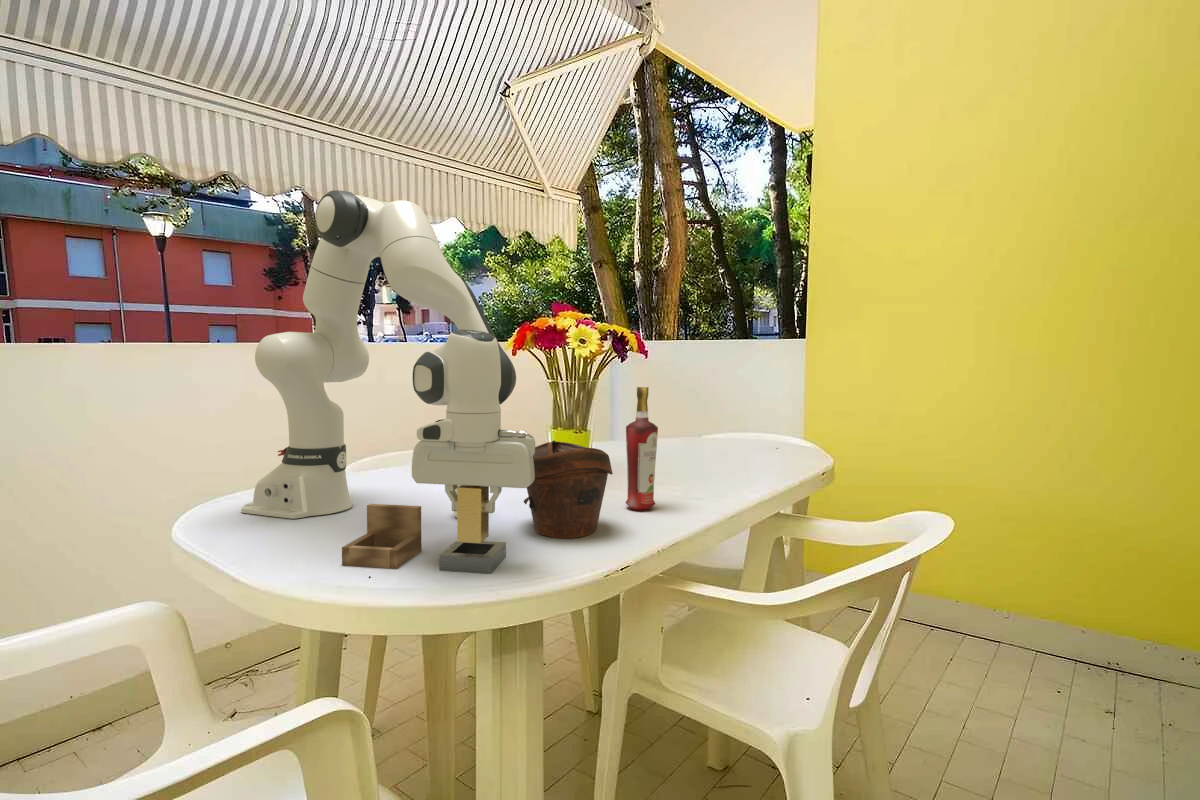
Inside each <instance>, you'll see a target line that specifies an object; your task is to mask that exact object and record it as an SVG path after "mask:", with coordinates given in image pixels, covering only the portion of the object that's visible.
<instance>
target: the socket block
mask: <svg viewBox="0 0 1200 800" xmlns="http://www.w3.org/2000/svg"><path fill="white" fill-rule="evenodd" d="M506 557H507V542H506V541H489V540H488V541H487V540H484V541H483V542H482V543H468V542H457V540H456V541H455V542H454V543H452V544H451V545H450V546H449V547H447V548H446V549H445V550H444V551H442V552H441V553H440V554H439V555H438V563H439V564H438V567H439V568H438V569H439V571H443V572H444V571H445V572H458V573H459V572H462V573H476V574H489V575H490V574H492V573H493V572H494V570H496V569H497V567H498V566H499V565H500V564H501V563H502V562H503V561H504V560H505V559H506Z"/></svg>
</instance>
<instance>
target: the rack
mask: <svg viewBox="0 0 1200 800" xmlns="http://www.w3.org/2000/svg"><path fill="white" fill-rule="evenodd" d="M420 552H422V506H421V505H408V504H406V505H404V504H387V503H386V504H384V503H383V504H382V503H368V504H367V505H366V533H365V534H363V535H362V536H359V537H358V538H355V540H353V541H351V542H349V543H347V544H345V545H343V546H342V547H341V566H349V567H363V568H379V569H381V568H382V569H395V570H396V569H398V568H400V567H402V566H403V565H404V564H406V563H407V562H408V561H409V560H411V559H412V558H414V557H415V556H416V555H418V554H419V553H420Z"/></svg>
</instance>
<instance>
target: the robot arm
mask: <svg viewBox="0 0 1200 800" xmlns="http://www.w3.org/2000/svg"><path fill="white" fill-rule="evenodd" d="M314 223H315V228H316V231H317V233H318V235H319V237H320V239H319V242H318V244H317V246H316V249H315V252H314V253H313V254H314V255H313V258H312V261H311V264H310V268H309V271H308V275H307V279H306V282H305V287H304V291H303V295H302V302H303V305H304V307H305V308H306V309H307V311H309V312H310V313H311V314H312V315H313V316H314V318H315V328H314V331H313V332H305V331H303V332H302V331H299V332H298V331H284V332H278V333H272V334H270V335H269V334H268V335H266V336H264V337H262V339H261V340H260V341H259V343H258V344H257V346H256V348H255V351H254V352H255V354H254V361H255V362H254V363H255V365H256V369H257V370H258V371H259V373H260V375H261V376H262V377H263V378H264V379H265V380H267V381H268V382H270V383H271V384H272V385H273V386H274V387H275V389H276V390H277V392H278V393H279V395H280V396H281V399H282V401H283V404H284V405H285V409H286V413H287V422H288V425H287V426H288V446H287V447H285V448H284V449H280V450H277V451H276V452H277V453H278V454H277V457H280V456H283V457H282V460H281V463H280V464H279V465H277V466H276V467H275V468H274V469H272V470H271V471H270V472H268V473H267V474H266V475H265V476H263V477H262V478H261V479H259V480H258V482H257V483H256V484H255V487H254V491H253V499H252V501H250V502H248V503H246V504H245V505H243V506H242V507H241V510H240V511H241V513H243V514H250V515H251V514H252V515H258V516H267V517H276V518H283V519H300V518H302V519H303V518H307V517H312V516H315V517H316V516H323V515H330V514H334V513H340V512H343V511H346V510H348V509H351V508H352V507H353V502H352V498H351V495H350V492H349V487H348V481H347V474H346V468H347V444H345V439H344V438H345V433H344V431H345V430H344V428H345V426H344V425H345V423H344V422H345V421H344V411H343V409H342V407H341V406H340V405H339V404H337V403H336V402H335V401H332V400H331V399H330V398H329V396H328V394H327V392H326V389H325V385H324V383H342V382H343V383H344V382H348V381H350V380H354V379H357V378H359V377H361V376H363V375H364V373H365V372H366V371H367V369H368V367H369V363H370V355H369V350H368V347H367V346H366V344H365V343H364V342H363V341H362V339H361V337H360V335H359V330H358V314H359V308H360V305H361V300H362V296H363V294H364V289H365V285H366V281H367V279H368V274H369V270H370V267H371V266H370V265H371V262H372V261H373V260H374V259H376V258H380V261H381V265H382V269H383V273H384V276H385V278H386V281H387V283H388V284H389V285H390V287H391V288H392V289H391V290H393V291H394V292H395V293H396V294H397V295H398V296H400V297H402V298H403V299H405V300H407V301H409V302H411V303H414V304H417V305H419V306H423V307H425V308H428V309H431V310H432V311H435V312H438V313H440V314H441V315H444V316H445V317H447V318H448V319H449V320H450V321H451V322H452V323H454V324H455V326H456V328H457V329H456V330H453V331H451V332H450V333H449V334H448V338H447V340H446V341H445V342H444V344H441V346H438V347H437V348H435V349H433V350H431V351H425V352H424V353H423V354H421V356H419V358H417V360H416V362H415V363H414V365H413V367H412V368H413V369H412V387H413V390H414V393H415V394H416V395H417V397H419V399H420V400H421V401H422V402H423V403H425V404H427V405H432V406H446V411H445V419H444V418H443V419H437V420H435V422H430V423H428V424H425V425H424V424H423V425H421V426H419V427H418V428H417V429H416V439H417V440H419V441H418V442H417V443H415V445H414V447H413V452H412V459H411V477H412V479H413V480H414V482H415V483H416V484H425V485H429V484H430V485H444V492H445V494H446V495H447V497H448V499H449V501H450V502H451V511H452V512H454V511H456V512H457V494H456V492H455V489H457V485H466V486H487V487H489V493H490V494H492V495H491V497H490V498H489V501H485V502H484V503H483V507H484V509H483V512H484V513H489V514H493V513H495V511H496V501H497V499H498V498H499V496H500V495H501V494H502V491H503V490H502V488H508V489H509V488H511V489H515V488H516V489H527V487H528V486H530V485H531V484H532V483H533V481H534V479H535V471H534V461H533V455H534V454H535V447H536V440H535V438H534V436H533V435H531V434H530V433H527V431H526V430H509V429H502V427H501V426H502V425H501V424H502V422H501V420H502V418H501V417H502V416H501V415H502V414H501V413H502V410H501V405H502V404H503V403H504V402H505V401H507V400H508V399H509V397H510V396H511V394H512V393H513V391H514V390H515V388H516V387H515V386H516V384H517V383H516V382H517V374H516V373H517V372H516V369H515V366H514V364H513V361H511V360H512V359H510V357H509V356H508V354H507V353H506V352H505V350H504V349H503V348H502V346H501V345H500V343H499V342H498V339H497V338H496V336H495V333H494V332H493V329H492V327H491V325H490V324H489V321H488V319H487V317H486V315H485V313H484V311H483V309H482V307H481V305H480V303H479V300H478V299H477V297H476V295H475V294H474V292H473V290H472V289H471V287H470V286H469V285H468V283H467V282H466V281H464V280H463V278H461V277H460V275H458V274H457V273H456V271H455V270H454V269H453V268H452V266H451V265H450V264H449V262H448V261H447V260H446V257H445V256H444V253H443V252H442V249H441V246H440V243H439V240H438V237H437V234H436V231H434V228H433V226H432V224H431V222H430V221H429V218H428V216H427V215H426V213H425V212H424V210H423V209H422V208H421V207H420V206H419V205H418V204H417V203H415V202H412V201H409V200H404V199H400V200H398V199H397V200H394V201H393V200H392V201H390V202H387V201H384V200H381V199H374V198H371V197H367V196H363V195H359V194H354V193H353V192H351V191H348V190H347V191H346V190H338V189H337V190H331V191H328V192H327V193H325V194H324V195H323V196H322V197H321V199H319V201H318V204H317V206H316V209H315V215H314Z"/></svg>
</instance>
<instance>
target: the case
mask: <svg viewBox="0 0 1200 800" xmlns="http://www.w3.org/2000/svg"><path fill="white" fill-rule="evenodd" d="M533 461H534V471H535V479H534V481H533V483H532V484H531V485H530V486H528V487H527V488H526V491H527V496H528V497H526V498H525V499H524V500H523V504H524V505H527V504H528V502H529V504H528V506H529V509H530V513H531V517H532V523H533V527H534V529H535V531H536V532H537V533H538V534H541V535H543V536H545V537H549V538H557V539H574V538H582V537H586V536H589V535H591V534H594V533H595V532H596V531H597V528H598V524H599V519H600V516H601V515H600V514H601V510H602V505H603V500H604V495H605V491H606V488H607V487H606V486H607V480H608V477H609V476H608V475H611V476H612V475H614V473H613V469H612V465H611V459H610V455H609V454H608V453H607V452H606V451H604V450H603V449H599V448H594V447H585V446H581V445H579V444H575V443H570V442H563V441H556V440H552V441H551V442H550V441H549V442H545V443H542V444H539V445H537V446H535V454H534V455H533Z"/></svg>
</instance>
